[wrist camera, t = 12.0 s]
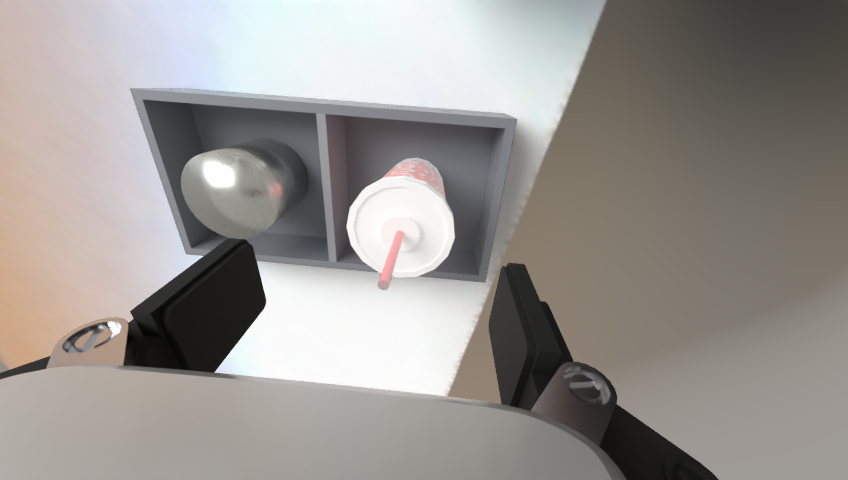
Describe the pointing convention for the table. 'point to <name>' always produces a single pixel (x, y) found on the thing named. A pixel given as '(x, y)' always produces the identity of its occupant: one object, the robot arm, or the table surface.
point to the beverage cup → (402, 222)
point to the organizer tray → (335, 167)
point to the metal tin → (244, 186)
